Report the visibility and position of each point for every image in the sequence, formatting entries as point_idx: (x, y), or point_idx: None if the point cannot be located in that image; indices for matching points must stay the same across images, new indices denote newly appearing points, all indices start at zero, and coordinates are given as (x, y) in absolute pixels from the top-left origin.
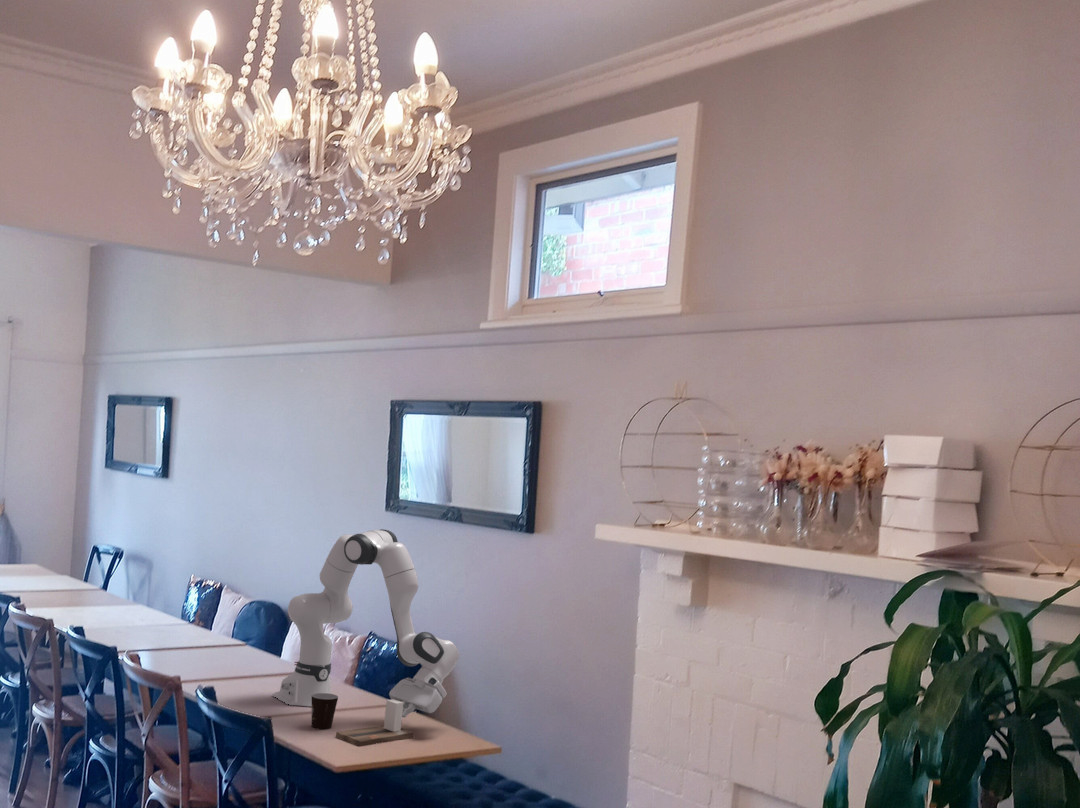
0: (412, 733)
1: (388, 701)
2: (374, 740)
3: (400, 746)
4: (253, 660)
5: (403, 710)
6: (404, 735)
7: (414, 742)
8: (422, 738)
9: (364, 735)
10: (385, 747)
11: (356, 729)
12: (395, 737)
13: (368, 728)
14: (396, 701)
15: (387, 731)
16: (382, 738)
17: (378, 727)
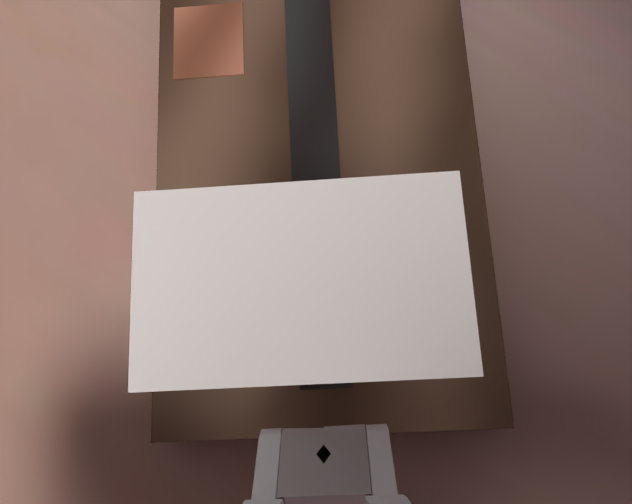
0: (153, 430)
1: (391, 180)
2: (163, 23)
3: (32, 173)
4: None
5: (294, 482)
6: None
7: (53, 345)
8: (107, 500)
9: (277, 3)
10: (70, 64)
11: (457, 41)
12: None
13: (447, 147)
14: (277, 303)
15: None
16: (161, 92)
17: None
